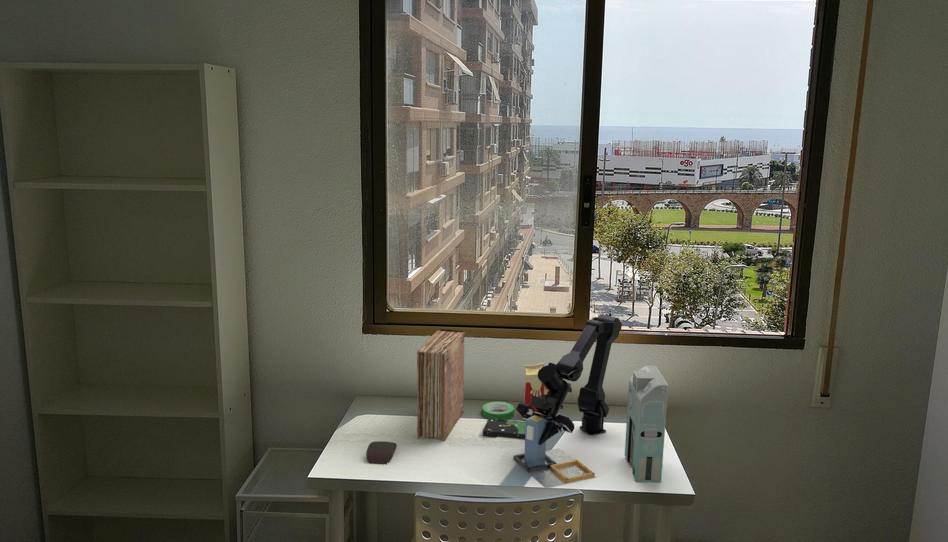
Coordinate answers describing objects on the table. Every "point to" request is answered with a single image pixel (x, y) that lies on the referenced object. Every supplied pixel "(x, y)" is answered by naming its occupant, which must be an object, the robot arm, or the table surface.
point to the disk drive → (504, 429)
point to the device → (646, 424)
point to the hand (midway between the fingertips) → (532, 442)
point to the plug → (534, 441)
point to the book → (440, 384)
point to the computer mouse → (380, 452)
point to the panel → (556, 469)
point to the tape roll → (498, 406)
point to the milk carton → (533, 384)
